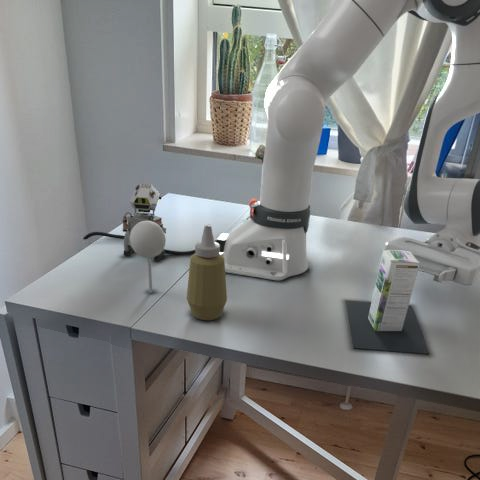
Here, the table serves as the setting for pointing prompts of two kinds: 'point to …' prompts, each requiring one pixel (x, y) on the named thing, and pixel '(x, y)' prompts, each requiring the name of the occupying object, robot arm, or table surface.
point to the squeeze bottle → (207, 279)
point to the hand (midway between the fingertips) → (415, 270)
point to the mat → (384, 332)
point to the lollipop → (147, 242)
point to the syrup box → (393, 290)
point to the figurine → (142, 214)
